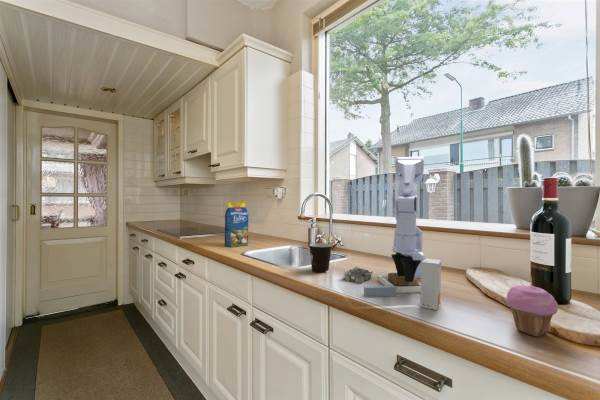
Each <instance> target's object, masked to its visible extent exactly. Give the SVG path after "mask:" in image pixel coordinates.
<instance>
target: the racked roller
mask: <svg viewBox="0 0 600 400" xmlns="http://www.w3.org/2000/svg"><path fill="white" fill-rule="evenodd" d="M387 276H388V282H390V283H391V284H393V285H394V283H393V280H394V277H395V276H398V275H397V273H393V272H388V274H387Z"/></svg>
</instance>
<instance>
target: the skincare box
mask: <svg viewBox="0 0 600 400" xmlns="http://www.w3.org/2000/svg"><path fill="white" fill-rule="evenodd" d="M441 274H442V260H441V259H432V258H426V259H425V260H423V261H422V262H421V278H420V284H421V292H420V295H419V296H420V297H419V298H420V299H419V302H420V304H419V305H420V306H419V307H420V308H422V309H423V308H424V309H428V310H429V309H430V310H434V311H438V308H439V306H440V304H441V287H442V286H441V283H442V282H441V281H442V279H441V278H442V275H441Z"/></svg>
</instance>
